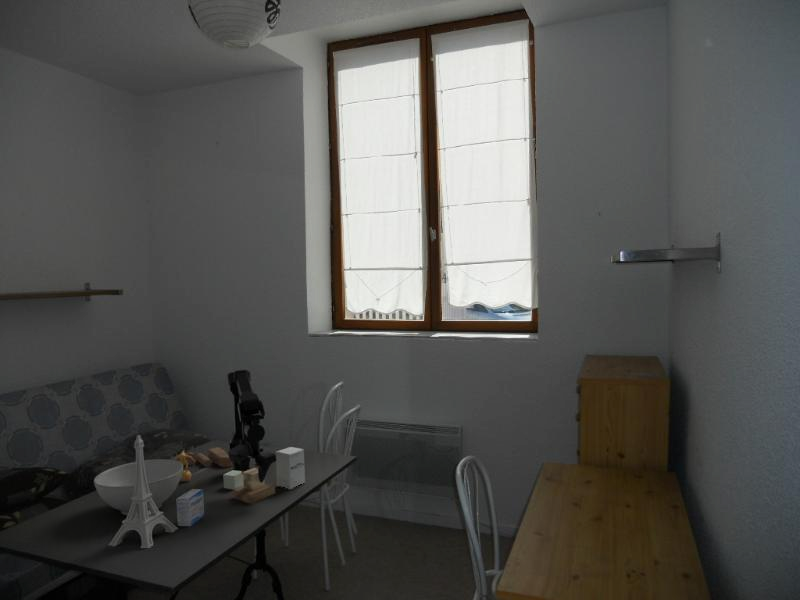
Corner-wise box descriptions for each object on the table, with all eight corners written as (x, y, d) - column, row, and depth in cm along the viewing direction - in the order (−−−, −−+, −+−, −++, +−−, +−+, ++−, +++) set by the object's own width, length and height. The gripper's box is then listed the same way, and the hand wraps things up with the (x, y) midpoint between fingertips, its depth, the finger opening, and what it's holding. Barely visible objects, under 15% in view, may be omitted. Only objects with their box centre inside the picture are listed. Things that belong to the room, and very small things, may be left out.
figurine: (198, 478, 215) (197, 447, 214) (194, 484, 209) (193, 451, 208) (175, 480, 214) (174, 448, 213) (171, 486, 208) (169, 453, 207)
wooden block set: (217, 444, 242) (233, 453, 228) (218, 457, 242) (233, 467, 228) (176, 452, 232) (189, 462, 218) (177, 466, 232) (190, 477, 218)
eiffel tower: (107, 546, 161) (101, 441, 160) (140, 526, 174) (134, 429, 173) (148, 549, 157) (142, 442, 156) (178, 529, 170) (173, 430, 169)
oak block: (243, 487, 194) (243, 472, 194) (255, 483, 198) (254, 467, 198) (252, 490, 191) (252, 474, 191) (264, 486, 195) (264, 470, 195)
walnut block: (233, 499, 194) (232, 489, 193) (256, 490, 201) (256, 480, 201) (251, 505, 187) (251, 494, 187) (275, 495, 195) (274, 485, 195)
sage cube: (223, 488, 203) (223, 474, 203) (233, 483, 208) (232, 470, 208) (235, 489, 201) (234, 476, 201) (244, 485, 206) (243, 471, 206)
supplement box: (290, 490, 198) (288, 454, 198) (276, 486, 203) (274, 451, 203) (306, 483, 204) (304, 448, 204) (292, 480, 209) (290, 446, 208)
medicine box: (190, 527, 171) (189, 498, 171) (177, 526, 172) (175, 498, 172) (204, 516, 179) (203, 489, 178) (191, 515, 180) (190, 488, 179)
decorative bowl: (201, 495, 197) (199, 461, 196) (147, 528, 171) (145, 489, 171) (136, 490, 204) (135, 457, 204) (76, 522, 178) (73, 484, 178)
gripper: (214, 436, 193) (216, 482, 194) (249, 444, 182) (251, 492, 182) (241, 429, 202) (243, 472, 202) (276, 436, 190) (278, 482, 191)
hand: (253, 480), depth 194 cm, fingers open, 8 cm apart
